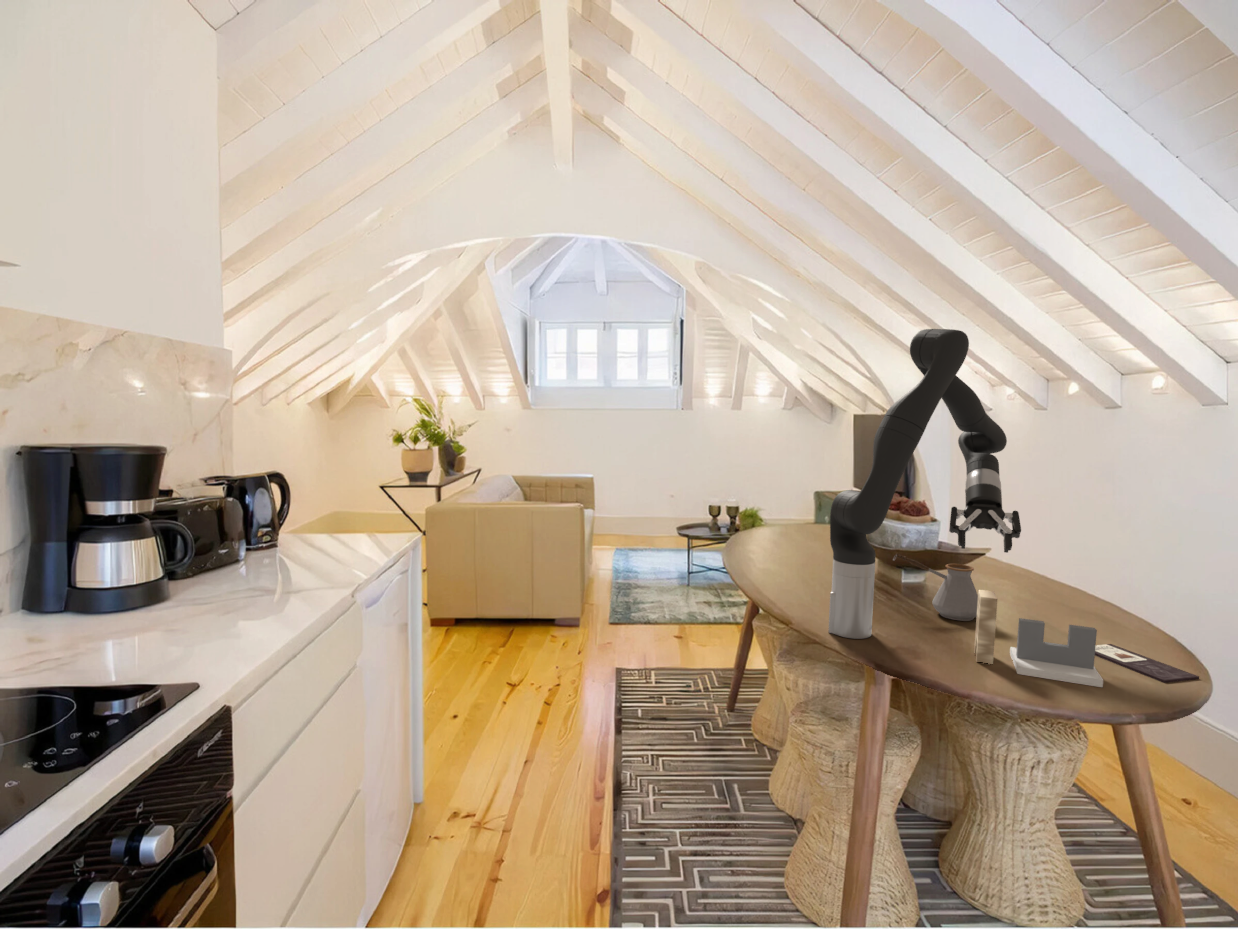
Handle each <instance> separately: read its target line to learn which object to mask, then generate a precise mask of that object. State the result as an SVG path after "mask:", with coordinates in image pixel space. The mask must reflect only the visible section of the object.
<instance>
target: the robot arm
mask: <svg viewBox="0 0 1238 929" xmlns="http://www.w3.org/2000/svg"><path fill="white" fill-rule="evenodd" d="M969 345H970V340H969V337H968V335H967V333H966V332H964V331H962V330H959V329H949V328H947V329H946V328H926V329H925V328H924V329H921V330H920V331H918V332H917V333H915V335H914V336H912V339H911V342H910V345H909V355H910V357H911V359H912V362H913V364H914V365H915V366H916V368H917V369H918V370H919V371H920V373H921V374H922V375H923V377H922V378H921V380H920V381H919V382H918V383H917V384H916V385H915V386H914V387H913V388H912V389H910V390H909V391H907V393H906V394H905V393H904V395H903V396H901V397H900V398H899V399H897V401H895V402H894V403H893V404H892V405H891V406H890V407H889V408H888V409H887V411H886V412H885V414H884V417H883V418H882V420H881V422H880V423H879V426H878V428H877V430H876V431H875V435H874V438H873V447H872V465H871V469H870V472H869V475H868V477H867V479H866V480H865V483H864V485H863V486H862V489H861V490H860V491H857V490H852V489H851V490H850V489H849V490H848V489H847V490H843V491H841V492H839V493H838V494H837V495H836V496H835V497H834V499H833V501H832V504H831V506H830V517H829V520H830V521H829V522H830V523H829V526H830V527H829V529H830V530H829V533H830V534H829V536H830V537H829V540H830V547H831V549H832V553H833V555H832V572H831V573H832V574H831V575H832V577H831V591H830V593H829V614H828V615H829V616H828V633H829V634H833V635H836V636H839V637H843V638H848V639H855V640H856V639H857V640H858V639H862V640H863V639H868V638H870V637H871V636H872V632H873V631H872V629H873V611H874V592H875V591H874V590H875V577H876V576H875V573H876V550H875V549H874V547H873V546H872V545H871V544H870V542H869V540H868V537H867V535H871V534H873V533H876V531H878V529H879V528H880V527H881V526H882V525H883V522H884V520H885V519H886V517H887V514H888V512H889V509H890V506H891V504H892V501H893V498H894V495H895V493H896V491H897V488H898V485H899V482H901V479H902V477H903V474H904V473H905V470H906V468H907V466H908V464H909V462H910V459H911V458H912V455H913V454H914V451H915V450H916V448H917V447H918V445H919V443H920V441H921V440H922V437H923V435H924V433H925V430H926V429H927V426H928V424H929V422H930V420H931V418H932V416H933V413H934V412H935V410H936V408H937V407H938V405H939V403H940V401H941V399H942V401H943V403H944V404H945V406H946V407H947V409H948V412H949V414H950V415H951V417H952V419H953V421H954V423H955V425H956V427H957V428H958V429H959V430H960V431H962V433H961V434H960V435H959V437H958V440H957V442H958V446H959V448H960V451H961V453H962V456H963V458H964V461H965V465H966V478H965V480H966V481H965V489H964V492H965V508H964V509H958V507H957V506H952V507H951V511H950V519H949V531H948V532H950V533H951V534H953V533H954V534H956V535H957V545H958V546H959V547H961V549H965V547H966V534H967V532H969V531H972V529H973V528H975V529H976V530H977V529H979V530H981V529H984V530H985V529H986V530H989V531H990V530H992V529H993V530H994V531H995V532H996V533H997V534H998V535H999V534H1000V535H1001V536H1002V537H1003V552H1004V553H1009V551H1012V547H1013V538H1015V539H1019V538H1020V537H1021V532H1022V526H1021V521H1020V512H1019V511H1018V510H1013V511H1012V512H1005V511H1004V509H1003V498H1002V496H1003V495H1002V483H1001V482H1002V481H1001V478H1000V463H999V460H998V458H997V457H996V455H993V454H997V453H1000V452H1002V451H1003V450H1004V449H1005V448H1006V446H1007V442H1008V441H1007V435H1006V433H1005V432H1004V430H1003V429H1002V427H1001V426H1000V425H999V424H998V423H997V422H996V421H995V420H993V419H992V418H991V417H990V416H989V415H988V414H987V412H986V411H985V408H984V406H983V404H982V402H981V400H980V398H979V396H978V395H977V394H976V392H975V391H974V390H973V389H972V388H971V387H970V386H969V385H968V384H966V383H965V382H964V381H963V380H962V379H960V377H958V376H957V374H958V372H959V371H960V369H961V368H962V366H963V364H964V362H965V360H966V358H967V355H968V352H969V347H970V346H969ZM961 516H963V518H965V520H964V522H962V523H961V524H960V525H957V520H958V519H960V518H961ZM1005 519H1006V520H1007V521H1008V523H1010V524H1011V528H1012V529H1010V527H1009V526H1008V525H1007V524H1006V522H1005V521H1004V520H1005Z"/></svg>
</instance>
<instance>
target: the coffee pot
mask: <svg viewBox="0 0 1238 929" xmlns="http://www.w3.org/2000/svg"><path fill="white" fill-rule="evenodd" d="M897 558H900V559H902V560H903V561H906V562H907V563H909V564H911V565H912V566H915V567H918V568H920V569H922V570H924V571H927V572H930V573H932V574H934V575H936V576H938V577H940V578H942V579H944V580H943V581H942V583H941V585H940V587H939V588H938V589H937V592H936V593H935V595H934V597H933V599H932V602H931V603H932V606H933V608H934V609H935V610H936V612H938V613H939V615H940V616H941V617H943V618H946V619H949V620H953V621H958V622H960V621H963V622H970V621H973V620H974V618H976V617H977V602H978V591H977V589H976V587H975V585H974V582H973V579H972V577H971V574H972V572H973V571H974V570H975V568H974V567H973V566H970V565H967V564H960V563H948V564H945V568H946V569H947V574H944V573H941V572H939V571H937V570H935V569H932V568H930V567H928V566H927V565H924V564H923V563H920V562H919V561H918V560H915V559H912V558H908V557H907V556H905V555H902V554H900V553H897V552H896V553H895V555H894V556H893V558H892V561H895V560H896V559H897Z"/></svg>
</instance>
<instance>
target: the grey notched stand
mask: <svg viewBox="0 0 1238 929" xmlns="http://www.w3.org/2000/svg"><path fill="white" fill-rule="evenodd" d="M1045 624H1046V623H1045V621H1044V620H1043V621H1042V620H1035V619H1031V618H1023V617H1020V618H1018V627H1017V638H1016V639H1017V642H1016V647H1014V646H1009V647H1010V648H1009V656H1010V658H1011V660H1013V661H1012V664H1013V666H1014V668H1015V671H1016V674H1017V675H1023V676H1029V677H1035V678H1042V679H1047V680H1054V681H1060V682H1066V683H1073V684H1079V685H1084V686H1085V685H1086V686H1090V687H1091V686H1092V687H1098V688H1103V687H1104V679H1103V677H1102V676H1101V674H1100V673H1099V672H1098V669H1096V667H1095V657H1096V656H1095V646H1096V642H1097V635H1098V633H1097V631H1098V629H1096V627H1093V626H1092V627H1090V626H1083V625H1076V624H1075V625H1074V624H1068V633H1067V644H1064V643H1063V644H1061V643H1055V642H1054V643H1053V642H1048V641H1047V642H1046V641H1044V638H1045V637H1044V635H1045Z"/></svg>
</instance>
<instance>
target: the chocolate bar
mask: <svg viewBox="0 0 1238 929" xmlns="http://www.w3.org/2000/svg"><path fill="white" fill-rule="evenodd" d="M1095 657H1097V658H1100V659H1102V660H1105V661H1108V662H1110V663H1113V664H1116V665H1118V666H1120V667H1123V668H1125V669H1128V670H1131V671H1133V672H1136V673H1137V674H1140V675H1143V676H1145V677H1148V678H1150V679H1153V680H1154V681H1157V682H1160V683H1162V684H1169V683H1175V682H1177V683H1178V682H1186V681H1192V680H1199V679H1200V676H1199V675H1197V674H1193V673H1191V672H1188V671H1186V670H1183V669H1180V668H1178V667H1175V666H1171V665H1170V664H1166V663H1164V662H1161V661H1159V660H1156V659H1153V658H1150V657H1147V656H1145V655H1143V654H1140V653H1136V652H1134V651H1131V650H1129V649H1125V648H1123V647H1121V646H1117V645H1115V644H1112V643H1107V644H1097V645H1096V646H1095Z"/></svg>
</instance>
